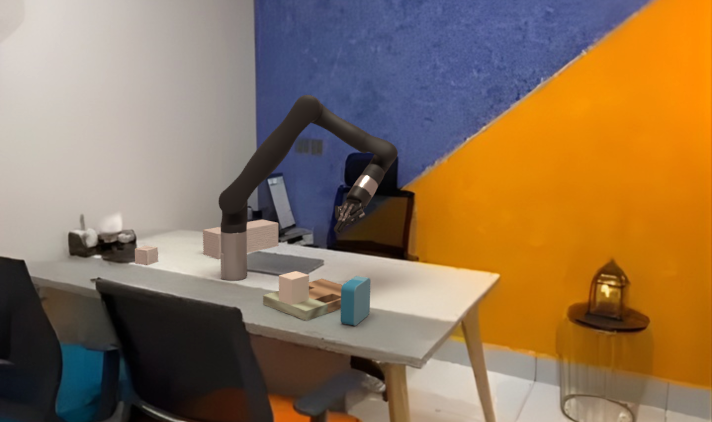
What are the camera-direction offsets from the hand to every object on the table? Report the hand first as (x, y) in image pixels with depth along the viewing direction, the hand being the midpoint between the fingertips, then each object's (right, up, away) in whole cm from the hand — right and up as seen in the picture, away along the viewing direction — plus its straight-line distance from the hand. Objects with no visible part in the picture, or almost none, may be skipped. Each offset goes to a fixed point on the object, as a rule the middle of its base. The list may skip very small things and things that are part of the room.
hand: (336, 232), depth 193 cm
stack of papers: (-43, -10, +61) cm, 75 cm away
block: (-13, -21, -11) cm, 27 cm away
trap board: (-7, -23, -3) cm, 24 cm away
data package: (+6, -26, -17) cm, 31 cm away
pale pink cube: (-76, -14, +38) cm, 86 cm away
